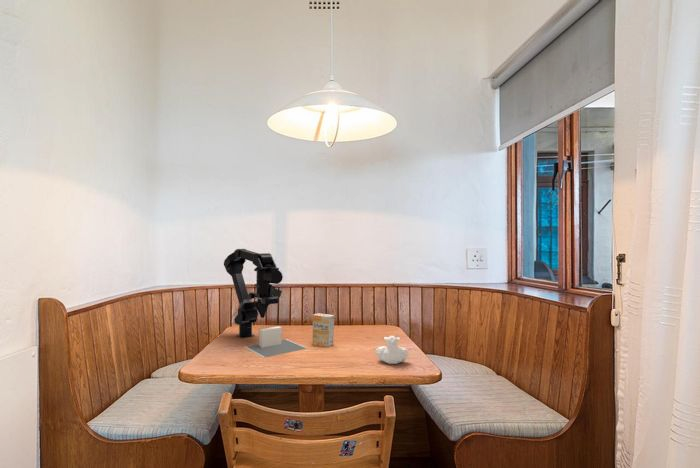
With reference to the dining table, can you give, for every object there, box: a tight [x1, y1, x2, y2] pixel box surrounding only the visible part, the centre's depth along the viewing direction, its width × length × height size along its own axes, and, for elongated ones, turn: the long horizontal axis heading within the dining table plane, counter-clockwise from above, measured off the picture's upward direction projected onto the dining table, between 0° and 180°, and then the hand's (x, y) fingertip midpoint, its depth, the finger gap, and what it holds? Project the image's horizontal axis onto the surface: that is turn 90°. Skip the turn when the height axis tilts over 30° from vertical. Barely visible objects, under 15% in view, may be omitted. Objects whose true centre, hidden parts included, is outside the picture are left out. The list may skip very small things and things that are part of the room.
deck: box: [258, 325, 283, 348], centre depth 158 cm, size 3×9×7 cm, turn 129°
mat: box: [244, 338, 309, 359], centre depth 154 cm, size 18×20×1 cm
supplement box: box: [311, 312, 335, 348], centre depth 159 cm, size 8×5×13 cm, turn 65°
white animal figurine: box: [375, 335, 409, 365], centre depth 136 cm, size 12×8×11 cm
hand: (262, 317), depth 164 cm, fingers closed
